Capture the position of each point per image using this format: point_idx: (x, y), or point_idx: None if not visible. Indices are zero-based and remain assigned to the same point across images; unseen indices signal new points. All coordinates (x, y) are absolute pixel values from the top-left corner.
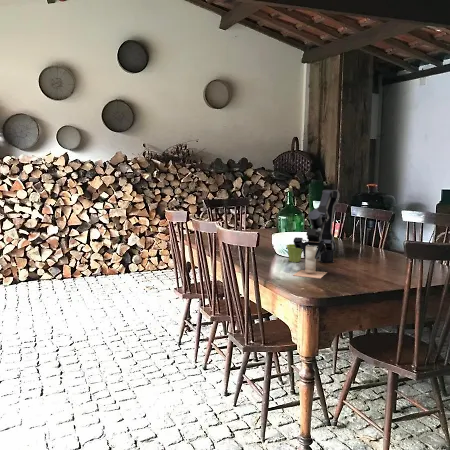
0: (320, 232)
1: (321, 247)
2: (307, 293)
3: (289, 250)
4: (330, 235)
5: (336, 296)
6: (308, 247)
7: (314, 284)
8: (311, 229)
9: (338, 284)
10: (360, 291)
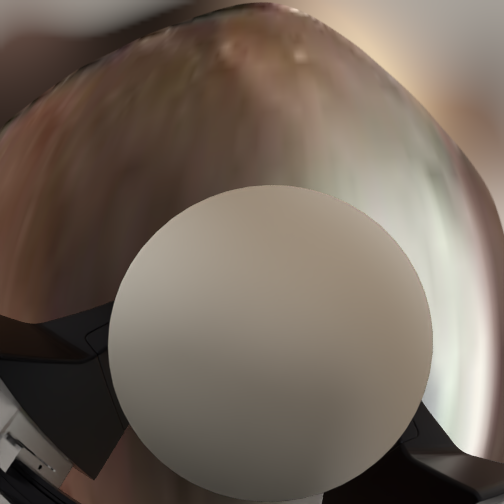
0: None
1: (20, 323)
2: (278, 25)
3: None
4: None
5: (191, 21)
6: (349, 204)
7: (247, 98)
8: None
9: (131, 120)
10: (97, 71)
